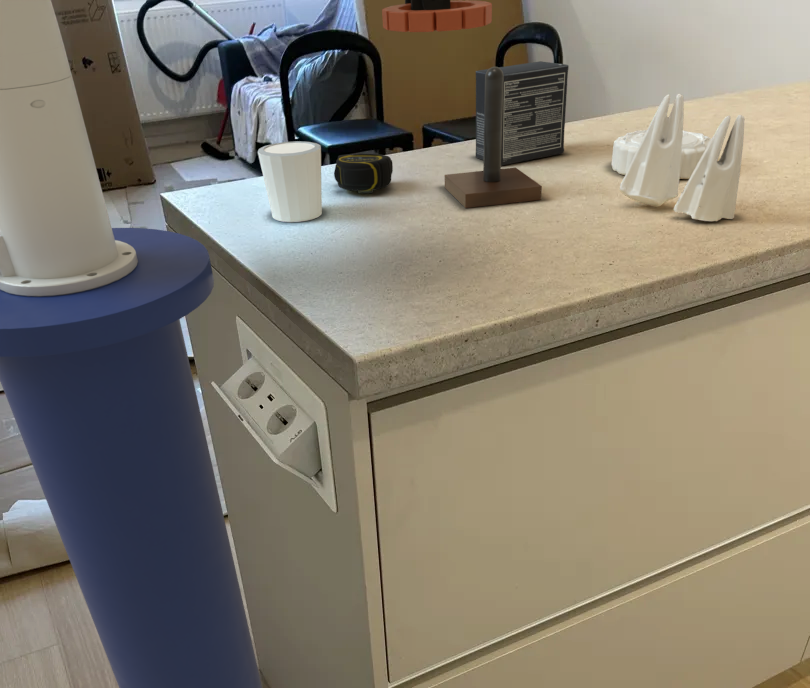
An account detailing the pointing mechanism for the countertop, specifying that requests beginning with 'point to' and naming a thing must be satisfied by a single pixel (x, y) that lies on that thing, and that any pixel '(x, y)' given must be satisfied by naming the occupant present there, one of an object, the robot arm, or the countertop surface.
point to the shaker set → (661, 160)
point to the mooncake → (630, 142)
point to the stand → (492, 161)
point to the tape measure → (363, 172)
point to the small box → (527, 111)
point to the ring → (438, 17)
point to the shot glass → (292, 180)
